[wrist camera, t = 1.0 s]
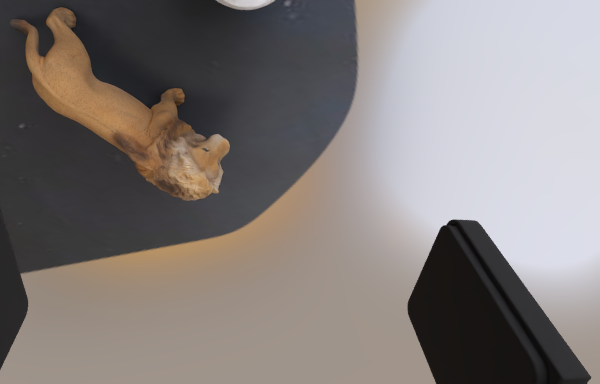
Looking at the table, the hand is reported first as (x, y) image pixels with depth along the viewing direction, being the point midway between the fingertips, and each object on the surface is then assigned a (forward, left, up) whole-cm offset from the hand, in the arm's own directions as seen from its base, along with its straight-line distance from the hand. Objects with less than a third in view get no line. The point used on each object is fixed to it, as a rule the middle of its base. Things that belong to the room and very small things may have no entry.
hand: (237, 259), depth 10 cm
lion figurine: (+6, -6, -23) cm, 25 cm away
